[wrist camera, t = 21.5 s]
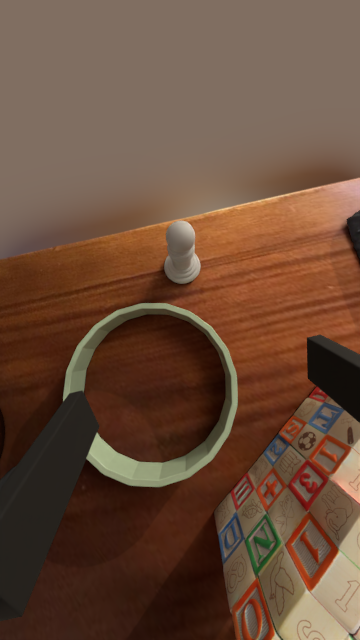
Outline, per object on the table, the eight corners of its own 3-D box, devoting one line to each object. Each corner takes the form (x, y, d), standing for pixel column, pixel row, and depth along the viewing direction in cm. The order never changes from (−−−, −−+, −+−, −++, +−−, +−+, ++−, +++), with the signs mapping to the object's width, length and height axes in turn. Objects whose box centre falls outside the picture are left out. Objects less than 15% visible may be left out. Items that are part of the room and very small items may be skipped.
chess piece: (161, 256, 29) (150, 213, 20) (195, 248, 29) (198, 201, 21) (169, 288, 28) (161, 258, 19) (204, 279, 28) (212, 245, 20)
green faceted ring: (54, 432, 25) (33, 444, 22) (114, 291, 29) (104, 282, 25) (202, 495, 23) (205, 519, 20) (248, 336, 27) (258, 333, 23)
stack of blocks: (320, 377, 25) (442, 397, 13) (361, 412, 24) (533, 468, 12) (212, 512, 23) (241, 687, 11) (253, 557, 22) (335, 802, 10)
